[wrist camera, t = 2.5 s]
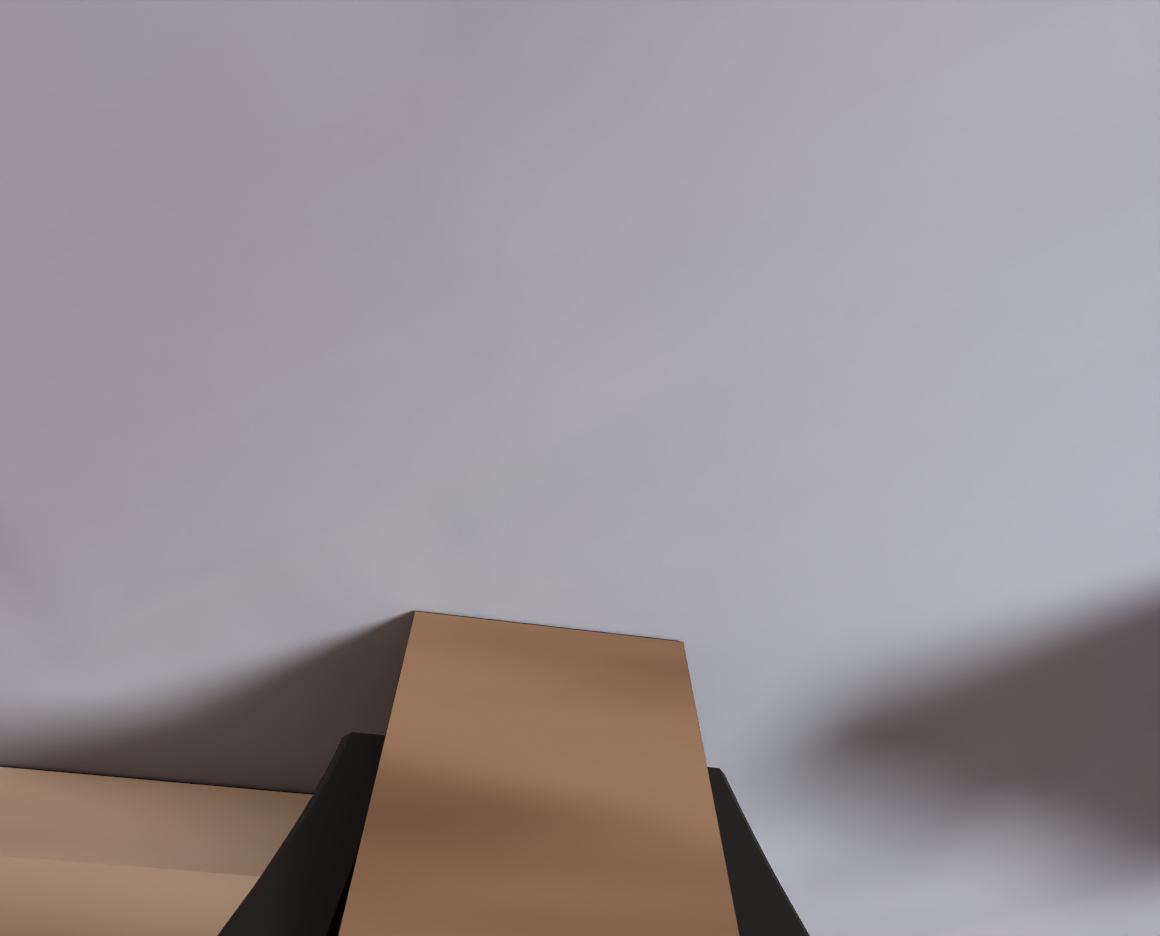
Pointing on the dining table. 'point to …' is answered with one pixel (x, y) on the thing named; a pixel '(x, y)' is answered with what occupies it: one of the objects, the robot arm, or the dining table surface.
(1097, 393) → the dining table surface
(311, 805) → the robot arm
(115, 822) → the board
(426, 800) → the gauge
